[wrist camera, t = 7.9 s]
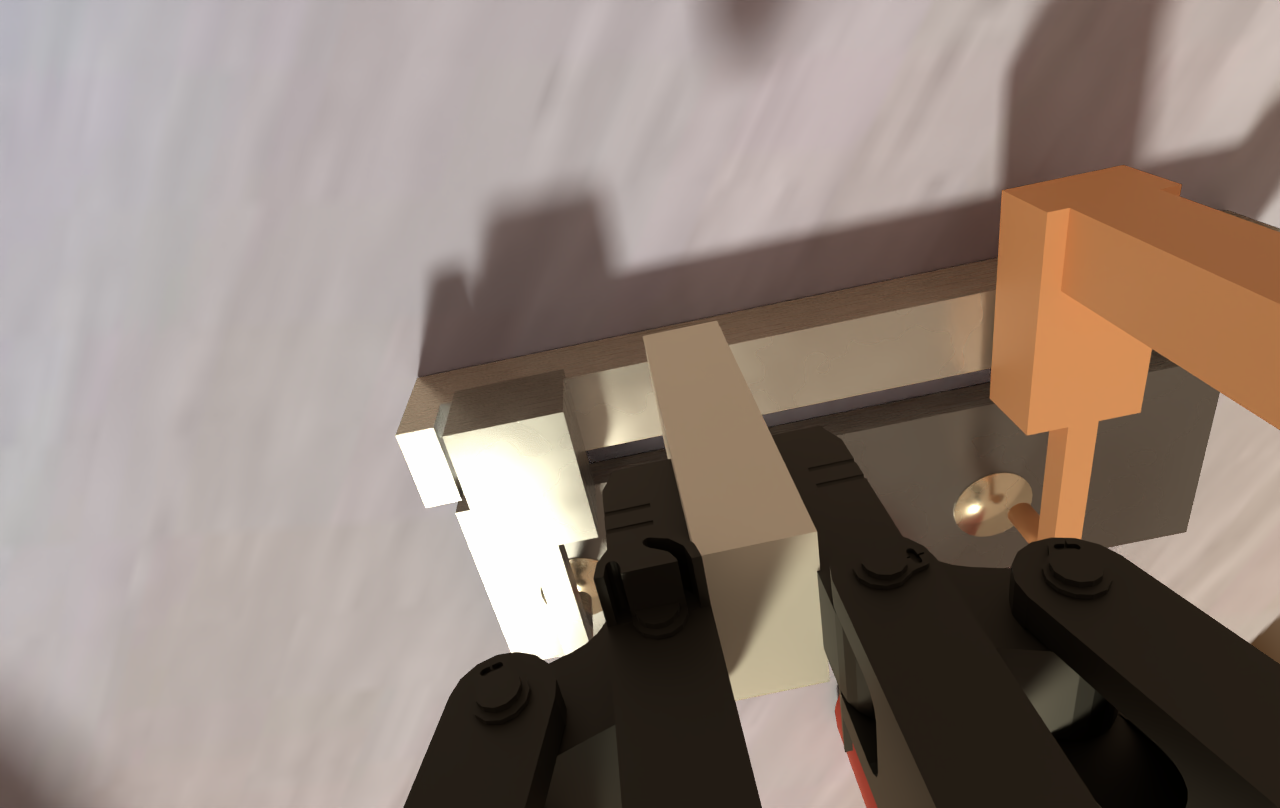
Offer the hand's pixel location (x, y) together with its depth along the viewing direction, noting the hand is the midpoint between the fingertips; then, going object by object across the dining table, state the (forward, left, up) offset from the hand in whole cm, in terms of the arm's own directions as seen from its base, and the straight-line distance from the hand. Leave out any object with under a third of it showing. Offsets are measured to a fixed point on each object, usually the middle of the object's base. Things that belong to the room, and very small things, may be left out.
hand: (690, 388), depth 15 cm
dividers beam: (+4, -6, -7) cm, 10 cm away
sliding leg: (+10, -5, -5) cm, 12 cm away
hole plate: (+4, -9, -7) cm, 12 cm away
